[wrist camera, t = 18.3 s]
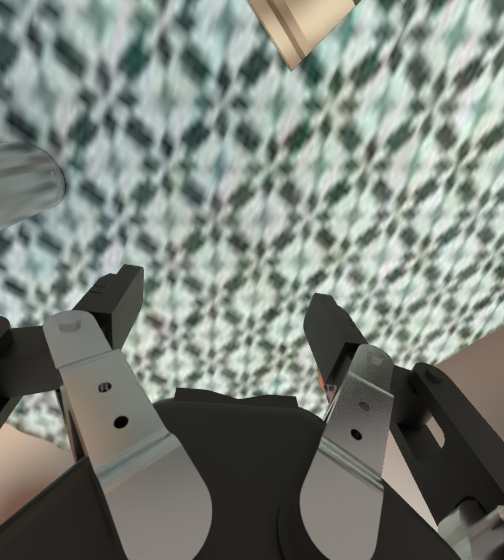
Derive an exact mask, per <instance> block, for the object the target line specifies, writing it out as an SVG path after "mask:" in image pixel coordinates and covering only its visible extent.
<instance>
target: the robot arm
mask: <svg viewBox="0 0 504 560" xmlns="http://www.w3.org/2000/svg"><path fill="white" fill-rule="evenodd" d="M64 193H65V181H64V177H63V174H62V172H61V170H60V168H59V167H58V165H57V164H56V162H55V161H54V160H53V159H52V158H51V157H50V156H49V155H48V154H47V153H45V152H44V151H43V150H41V149H39V148H38V147H36V146H33V145H31V144H28V143H23V142H5V143H0V230H1V229H3V228H6V227H8V226H10V225H13V224H15V223H17V222H20V221H22V220H24V219H27V218H29V217H31V216H34V215H36V214H38V213H41V212H43V211H45V210H48V209H50V208H52V207H54V206H56V205H57V204H58V203H60V202H61V200H62V198H63V197H64ZM143 282H144V269H143V267H140V266H134V265H127V264H124V265H123V267H122V268H121V269H120V270H119V272H118V273H117V274H111V273H109V274H107V275H105V276H103V277H101V278H99V279H98V281H97V282H96V283H95V284H94V285H93V287H91V289H90V290H89V291H88V292H87V293H86V294H85V295H84V297H83V298H82V299H81V300H80V301H79V302H78V303H77V305H76V306H75V307H74V308H73V309H72V310H69V311H64V312H60V313H57V314H55V315H53V316H51V317H49V318H48V319H47V320H46V321H45V322H44V324H43V326H35V327H24V328H12V329H11V326H10V322H9V320H8V319H6V318H4V317H2V316H0V428H1V427H2V426H3V424H4V423H5V421H6V420H7V418H8V417H9V415H10V414H11V413H12V411H13V410H14V408H15V407H16V405H17V404H18V402H19V401H20V399H21V398H22V397H23V396H24V395H30V394H35V393H41V392H47V391H52V390H54V392H55V395H56V398H57V401H58V405H59V408H60V411H61V414H62V418H63V421H64V424H65V428H66V431H67V434H68V438H69V442H70V447H71V451H72V455H73V458H74V462H75V464H74V465H73V466H72V467H70V468H69V469H68V470H67V471H66V472H65V473H63V474H62V475H61V476H60V477H58V478H57V479H56V480H55V481H54V482H52V483H51V484H50V485H49V486H47V487H46V488H45V489H44V490H43V491H41V492H40V493H39V494H38V495H36V496H35V497H34V498H33V499H32V500H31V501H29V502H28V503H27V504H26V505H24V506H23V507H22V508H21V509H19V510H18V511H17V512H16V513H15V514H13V515H12V516H11V517H10V518H9V519H7V520H6V521H5V522H4V523H2V524H1V525H0V560H504V442H503V440H502V439H501V438H500V437H499V436H498V435H497V433H496V432H495V431H494V430H493V429H492V427H491V426H490V425H489V424H488V423H487V422H486V420H485V419H484V418H483V417H482V416H481V414H480V413H479V412H478V411H477V410H476V409H475V407H474V406H473V405H472V404H471V403H470V402H469V400H468V399H467V398H466V397H465V396H464V394H463V393H462V392H461V391H460V390H459V388H458V387H457V386H456V385H455V384H454V382H453V381H452V380H451V379H450V378H449V377H448V376H447V375H446V374H445V373H444V372H442V371H441V370H440V369H438V368H436V367H434V366H432V365H430V364H427V363H421V362H420V363H416V364H415V366H414V367H413V369H412V370H408V369H405V368H402V367H399V366H396V365H394V363H393V360H392V359H391V357H390V356H389V355H388V354H387V353H386V352H384V351H383V350H381V349H380V348H378V347H376V346H373V345H369V344H368V343H367V341H366V340H365V338H364V337H363V335H362V334H361V332H360V331H359V329H358V328H357V327H356V325H355V323H354V322H353V321H352V319H351V317H350V316H349V314H348V313H347V312H346V311H345V310H344V309H342V308H341V307H340V306H338V305H337V303H336V302H335V300H334V299H333V297H332V296H331V295H326V294H320V293H315V294H314V295H313V297H312V300H311V302H310V305H309V308H308V310H307V313H306V316H305V318H304V324H303V328H304V332H305V335H306V337H307V340H308V343H309V345H310V348H311V350H312V353H313V356H314V358H315V361H316V363H317V366H318V368H319V371H320V374H321V376H322V379H323V381H324V384H326V385H336V387H337V389H336V391H335V393H334V395H333V397H332V399H331V401H330V404H329V406H328V408H327V410H326V413H325V415H324V417H323V419H321V418H319V417H318V416H316V415H315V414H313V413H311V412H310V411H308V410H305V409H303V408H301V407H298V403H297V399H296V397H294V396H281V395H262V396H256V397H250V398H244V399H236V398H233V397H229V396H226V395H223V394H219V393H216V392H213V391H210V390H203V389H190V388H177V387H176V392H175V397H174V398H168V399H165V400H161V401H158V402H156V403H153V404H152V403H151V402H150V400H149V398H148V397H147V395H146V393H145V391H144V390H143V388H142V386H141V385H140V383H139V381H138V379H137V378H136V376H135V374H134V373H133V371H132V369H131V367H130V366H129V364H128V362H127V361H126V359H125V357H124V355H123V354H122V352H121V349H122V347H123V345H124V343H125V341H126V339H127V336H128V334H129V332H130V330H131V328H132V326H133V324H134V322H135V320H136V318H137V316H138V314H139V312H140V309H141V306H142V302H143ZM432 416H433V417H434V419H435V420H436V422H437V423H438V425H439V426H440V428H441V429H442V431H443V433H444V437H445V443H444V446H443V447H442V448H441V447H440V446H439V444H438V443H437V441H436V439H435V438H434V436H433V435H432V433H431V431H430V430H429V428H428V427H427V425H426V423H427V422H428V421H429V419H430V418H431V417H432ZM389 429H390V431H391V433H392V435H393V437H394V439H395V441H396V443H397V445H398V447H399V449H400V451H401V453H402V455H403V457H404V459H405V461H406V463H407V465H408V467H409V469H410V471H411V473H412V476H413V478H414V480H415V481H416V483H417V485H418V488H419V490H420V492H421V494H422V496H423V498H424V500H425V502H426V504H427V506H428V508H429V510H430V512H431V514H432V516H433V518H434V520H435V522H436V524H437V526H438V533H437V532H436V531H435V530H434V529H433V528H432V527H431V526H430V525H429V524H428V523H427V522H426V521H425V520H424V519H423V518H422V517H421V516H420V515H419V514H418V513H417V512H416V511H415V510H414V509H413V508H412V507H411V506H410V505H409V504H408V503H407V502H406V501H405V500H404V499H403V498H402V497H401V496H400V495H399V494H397V492H396V491H394V489H393V488H391V486H390V485H389V484H388V483H386V481H384V480H383V479H382V478H381V474H382V469H383V463H384V457H385V450H386V444H387V438H388V431H389Z"/></svg>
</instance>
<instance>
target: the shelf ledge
mask: <svg viewBox="0 0 504 560" xmlns="http://www.w3.org/2000/svg"><path fill="white" fill-rule="evenodd" d="M360 1H361V0H247V2H248V3H249V5H250V6H251V8H252V10H253V11H254V13H255V14H256V16H257V18H258V19H259V21H260V23H261V24H262V26H263V27H264V29H265V31H266V32H267V34H268V35H269V37H270V39H271V40H272V42H273V44H274V45H275V47H276V48H277V50H278V52H279V53H280V55H281V56H282V58H283V60H284V61H285V63H286V65H287V66H288V68H289V69H290V71H292V70H293V69H294V68H295V67H296V66H297V65H298V64H299V63H300V62H301V61H302V60H303V59H304V58H305V57H306V56H307V55H308V54H309V53H310V52H311V51H312V50H313V48H314V47H315V46H316V45H317V44H318V43H319V42H320V41H321V40H322V39H323V38H324V37H325V36H326V35H327V34H328V33H329V32H330V31H331V30H332V29H333V28H334V27H335V26H336V25H337V24H338V23H339V22H340V21H341V20H342V19H343V18H344V17H345V16H346V15H347V14H348V13H349V12H350V11H351V10H352V9H353V8H354V7H355V6H356V5H357V4H358V3H359V2H360Z"/></svg>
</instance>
